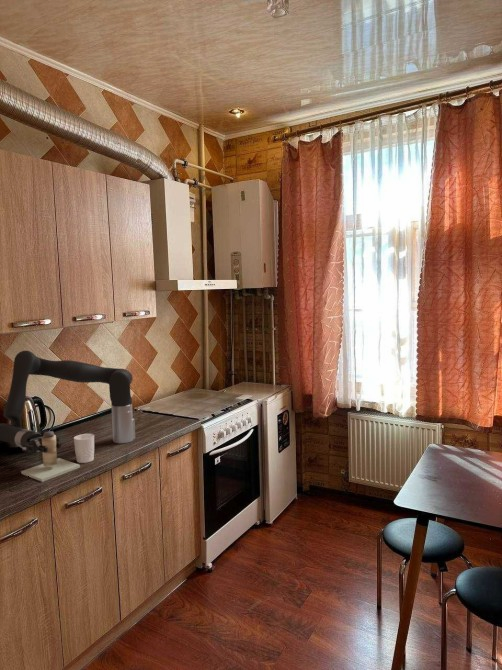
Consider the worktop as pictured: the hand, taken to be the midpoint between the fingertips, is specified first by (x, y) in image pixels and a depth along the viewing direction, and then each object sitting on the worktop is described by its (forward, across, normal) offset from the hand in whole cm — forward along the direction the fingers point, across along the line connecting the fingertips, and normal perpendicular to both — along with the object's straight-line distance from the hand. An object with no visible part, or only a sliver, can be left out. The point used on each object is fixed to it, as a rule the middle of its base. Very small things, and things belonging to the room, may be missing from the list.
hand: (53, 447), depth 173 cm
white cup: (0, +14, +10) cm, 17 cm away
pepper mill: (-3, 0, +7) cm, 7 cm away
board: (-2, 0, +10) cm, 10 cm away
